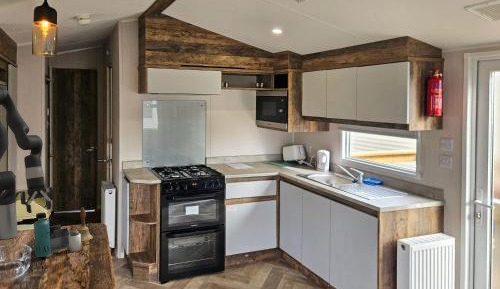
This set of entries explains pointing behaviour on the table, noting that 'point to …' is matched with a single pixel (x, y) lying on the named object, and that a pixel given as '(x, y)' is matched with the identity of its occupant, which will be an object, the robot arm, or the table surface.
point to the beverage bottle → (42, 236)
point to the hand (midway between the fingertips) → (39, 211)
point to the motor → (59, 238)
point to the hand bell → (84, 227)
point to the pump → (74, 241)
